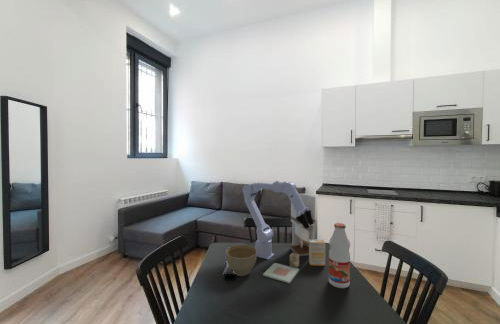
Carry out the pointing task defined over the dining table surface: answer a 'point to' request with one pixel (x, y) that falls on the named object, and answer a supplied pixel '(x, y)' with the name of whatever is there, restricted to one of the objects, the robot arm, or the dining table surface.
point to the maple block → (294, 260)
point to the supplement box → (316, 252)
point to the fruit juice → (339, 257)
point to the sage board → (281, 272)
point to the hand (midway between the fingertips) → (309, 226)
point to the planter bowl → (241, 259)
